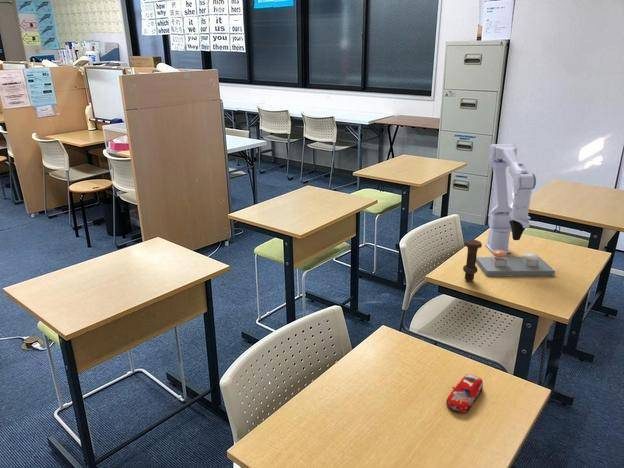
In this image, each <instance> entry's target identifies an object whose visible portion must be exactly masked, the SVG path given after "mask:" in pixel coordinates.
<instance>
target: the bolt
mask: <svg viewBox="0 0 624 468" xmlns="http://www.w3.org/2000/svg"><path fill="white" fill-rule="evenodd" d="M464 246H465V247H466V248H467V255H466V262H465V263H466V264H464V265H463V267H462V270H463V272H464V280H465V281H466V282H473V281H474V279H475V274H477V273H478V269H479V268H478V267H477V263H476V257H478V256H477V254H478V251H479V250H478V249H480V248H482V246H483V245H482V242H481V241H479V240H477V239H467V240H466V241H464Z"/></svg>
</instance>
